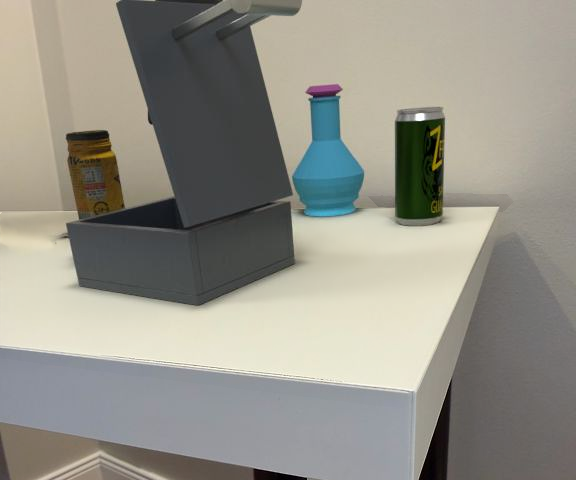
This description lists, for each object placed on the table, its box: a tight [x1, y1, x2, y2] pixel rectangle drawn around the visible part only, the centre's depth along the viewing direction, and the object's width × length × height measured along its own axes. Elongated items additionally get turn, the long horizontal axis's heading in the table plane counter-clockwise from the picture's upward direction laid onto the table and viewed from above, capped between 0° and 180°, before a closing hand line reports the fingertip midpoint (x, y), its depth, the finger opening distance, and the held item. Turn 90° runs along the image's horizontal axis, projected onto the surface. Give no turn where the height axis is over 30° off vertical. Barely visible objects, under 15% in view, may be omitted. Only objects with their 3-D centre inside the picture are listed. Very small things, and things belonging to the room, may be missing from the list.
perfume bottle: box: [291, 83, 365, 217], centre depth 82 cm, size 9×9×15 cm
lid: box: [115, 0, 303, 228], centre depth 50 cm, size 16×14×9 cm
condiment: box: [59, 129, 126, 237], centre depth 83 cm, size 7×8×12 cm
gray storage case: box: [65, 196, 296, 306], centre depth 60 cm, size 15×14×6 cm
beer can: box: [394, 106, 446, 227], centre depth 73 cm, size 5×5×12 cm
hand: (209, 185), depth 81 cm, fingers closed on disposable coffee cup, 8 cm apart
